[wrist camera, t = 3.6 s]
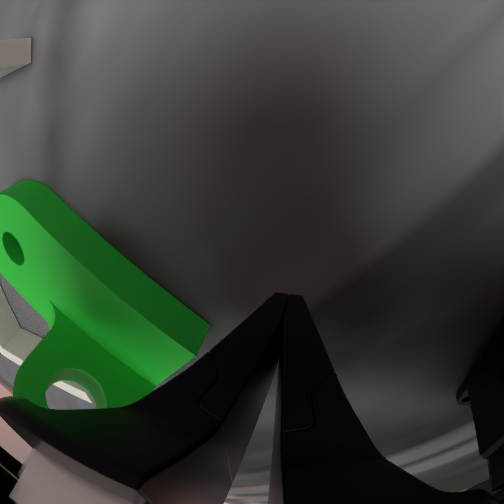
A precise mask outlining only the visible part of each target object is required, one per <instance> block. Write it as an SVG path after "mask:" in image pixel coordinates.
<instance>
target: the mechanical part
mask: <svg viewBox="0 0 504 504" xmlns="http://www.w3.org/2000/svg"><path fill="white" fill-rule="evenodd" d="M0 273H1V274H2V275H3V276H4V277H5V278H6V280H7V281H8V282H9V283H10V284H11V285H12V286H13V287H14V288H15V289H16V290H17V291H18V293H19V294H20V295H21V296H22V297H23V298H24V299H25V300H26V301H27V302H28V303H29V304H30V305H31V306H32V307H33V308H34V309H35V310H36V311H37V312H38V313H39V314H40V315H41V316H42V317H43V318H44V319H45V320H46V321H47V323H48V325H49V328H50V331H49V332H48V333H47V334H46V335H45V337H44V338H43V339H42V340H41V341H40V342H39V343H38V345H37V346H36V347H35V348H34V349H33V350H32V352H31V353H30V354H29V355H28V356H27V358H26V359H25V360H24V361H23V363H22V364H21V366H20V368H19V369H18V372H17V374H16V377H15V381H14V387H13V396H22V397H25V398H26V399H28V400H29V401H31V402H33V403H34V404H36V405H38V406H41V407H44V408H48V405H47V402H46V396H45V392H46V390H47V389H48V388H49V387H50V386H51V385H52V384H54V383H56V382H59V381H72V382H75V383H77V384H79V385H81V386H82V387H84V388H85V389H86V390H87V391H88V392H89V393H90V394H91V396H92V397H93V399H94V401H95V404H96V407H97V409H102V408H117V407H122V406H126V405H129V404H131V403H134V402H136V401H138V400H139V399H141V398H143V397H145V396H146V395H148V394H149V393H151V392H153V390H154V388H155V387H156V386H157V385H158V384H159V383H161V382H162V381H163V380H165V379H166V378H167V377H169V376H170V375H171V374H173V373H174V372H175V371H177V370H178V369H179V368H181V367H182V366H183V365H185V364H186V363H187V362H189V361H190V360H191V359H193V358H194V357H195V356H196V355H197V353H198V351H199V348H200V346H201V344H202V342H203V340H204V338H205V336H206V334H207V332H208V330H209V328H210V326H211V325H210V324H209V323H207V322H206V321H204V320H203V319H202V318H200V317H199V316H198V315H197V314H195V313H194V312H193V311H191V310H190V309H189V308H187V307H186V306H185V305H183V304H182V303H181V302H180V301H178V300H177V299H176V298H174V297H173V296H172V295H171V294H169V293H168V292H167V291H166V290H164V289H163V288H162V287H161V286H159V285H158V284H157V283H156V282H154V281H153V280H152V279H151V278H149V277H148V276H147V275H146V274H145V273H143V272H142V271H141V270H140V269H139V268H137V267H136V266H135V265H134V264H133V263H131V262H130V261H129V260H128V259H127V258H125V257H124V256H123V255H122V254H121V253H120V252H118V251H117V250H116V249H115V248H114V247H113V246H112V245H110V244H109V243H108V242H107V241H106V240H105V239H104V238H102V237H101V236H100V235H99V234H98V233H97V232H96V231H95V230H93V229H92V228H91V227H90V226H89V225H88V224H87V223H86V222H85V221H84V220H82V219H81V218H80V217H79V216H78V215H77V214H76V213H75V212H74V211H73V210H72V209H71V208H70V207H69V206H67V205H66V204H65V203H64V202H63V201H62V200H61V199H60V198H59V197H58V196H57V195H56V194H55V193H54V192H53V191H52V190H51V189H49V188H48V187H47V186H45V185H44V184H42V183H40V182H38V181H35V180H23V181H21V182H19V183H17V184H15V185H13V186H11V187H9V188H7V189H6V190H4V191H2V192H0ZM48 409H49V408H48Z"/></svg>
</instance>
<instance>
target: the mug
mask: <svg viewBox="0 0 504 504" xmlns="http://www.w3.org/2000/svg"><path fill="white" fill-rule="evenodd" d="M475 489H483V490H486V491H487V492H488V493H490V494H491V495H493V494H495V493H497V492H499V491H501V490H502V489H500V490H497V491H492V492H491V488H490V480H488V481H486V482H483V483H481V484H479V485H477V486H475V487H473V488H471V489H469V490H475ZM469 490H467V491H469Z"/></svg>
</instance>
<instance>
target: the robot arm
mask: <svg viewBox="0 0 504 504" xmlns="http://www.w3.org/2000/svg"><path fill="white" fill-rule="evenodd" d="M278 361H279V365H278V380H277V396H276V411H275V425H274V439H273V452H272V464H271V475H270V487H269V497H268V504H504V320H503V322H502V324H501V326H500V328H499V329H498V331H497V333H496V335H495V336H494V338H493V340H492V342H491V343H490V345H489V347H488V348H487V350H486V352H485V353H484V355H483V356H482V358H481V359H480V361H479V363H478V364H477V366H476V367H475V369H474V370H473V372H472V373H471V375H470V376H469V377H468V379H467V380H466V382H465V383H464V385H463V386H462V387H461V389H460V390H459V391H458V393H457V395H456V399H457V404H459V405H471V409H472V414H473V419H474V424H475V429H476V435H477V441H478V447H479V454H480V456H481V458H482V459H487V462H488V469H489V478H490V488H491V492H492V491H497V490H500V489H502V490H501V491H499V492H497V493H495V494H493V495H491V494H490V493H488V492H487V491H486V490H483V489H475V490H469V491H463V492H454V493H452V492H445V491H441V490H438V489H435V488H433V487H431V486H429V485H428V484H426V483H424V482H422V481H421V480H419V479H417V478H416V477H414V476H412V475H411V474H409V473H408V472H406V471H404V470H403V469H401V468H399V467H398V466H396V465H395V464H393V463H392V462H390V461H388V460H387V459H386V458H385V457H384V456H382V454H381V453H380V452H379V451H378V450H377V449H376V447H375V446H374V444H373V442H372V441H371V439H370V437H369V436H368V434H367V432H366V431H365V429H364V427H363V426H362V424H361V422H360V420H359V419H358V417H357V415H356V414H355V412H354V410H353V409H352V407H351V405H350V403H349V401H348V399H347V398H346V396H345V394H344V391H343V389H342V387H341V385H340V383H339V380H338V378H337V375H336V373H335V372H334V368H333V366H332V364H331V361H330V359H329V356H328V354H327V351H326V349H325V347H324V344H323V342H322V340H321V337H320V335H319V332H318V330H317V328H316V325H315V323H314V321H313V318H312V316H311V314H310V311H309V309H308V307H307V304H306V302H305V300H304V297H303V296H301V295H294V294H290V295H288V294H287V293H279V292H276V293H274V294H273V295H272V296H271V297H270V298H269V299H267V300H266V301H265V302H264V303H263V304H262V305H261V306H260V307H259V308H258V309H256V310H255V311H254V312H253V313H252V314H251V315H250V316H249V317H247V318H246V319H245V320H244V321H243V322H242V323H241V324H240V325H238V326H237V327H236V328H235V329H234V330H233V331H232V332H231V333H229V334H228V335H227V336H226V337H225V338H224V339H223V340H221V341H220V342H219V343H218V344H217V345H216V346H214V347H213V348H212V349H211V350H210V352H207V353H206V354H205V355H204V356H203V357H201V358H200V359H199V360H198V361H197V362H195V363H194V364H193V365H192V366H190V367H189V368H188V369H186V370H185V371H183V372H182V373H180V374H179V375H178V376H176V377H175V378H173V379H172V380H170V381H168V382H167V383H165V384H164V385H162V386H161V387H159V388H157V389H156V390H154V391H153V392H151V393H149V394H148V395H146V396H145V397H143V398H141V399H139V400H138V401H136V402H134V403H131V404H129V405H126V406H122V407H117V408H102V409H77V410H56V409H48V408H44V407H41V406H38V405H36V404H34V403H33V402H31V401H29V400H28V399H26V398H25V397H22V396H9V397H3V398H1V399H0V416H1V417H2V418H3V419H4V420H5V421H6V423H7V424H8V425H9V426H10V427H11V428H12V429H13V430H14V431H15V432H16V433H17V434H19V436H21V438H23V439H24V440H25V441H26V442H27V443H28V444H29V445H30V446H31V447H32V450H31V452H30V453H29V455H28V457H27V458H26V460H25V461H24V463H23V464H21V463H20V462H19V461H17V460H16V459H15V458H14V457H13V456H11V455H10V454H9V453H8V452H7V451H5V450H4V449H3V448H2V447H1V446H0V504H224V501H225V499H226V497H227V494H228V492H229V490H230V487H231V485H232V482H233V480H234V478H235V475H236V473H237V471H238V468H239V466H240V463H241V461H242V458H243V456H244V453H245V451H246V448H247V446H248V443H249V441H250V438H251V436H252V433H253V430H254V428H255V425H256V423H257V420H258V417H259V415H260V412H261V409H262V407H263V404H264V401H265V399H266V396H267V393H268V390H269V388H270V385H271V382H272V379H273V376H274V374H275V371H276V368H277V364H278Z"/></svg>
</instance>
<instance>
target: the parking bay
mask: <svg viewBox="0 0 504 504" xmlns="http://www.w3.org/2000/svg"><path fill="white" fill-rule="evenodd" d="M30 63H31V38H17V39H6V40H0V78H1V77H3V76H5V75H7V74H9V73H11V72H13V71H15V70H17V69H19V68H21V67H23V66H25V65H28V64H30ZM42 339H43V338H41V337H39V336H37V335H35V334H33V333H31V332H29V331H27V330H24V329H22V328H21V327H20V325H19V323H18V321H17V319H16V317H15V316H14V314H13V311H12V309H11V307H10V305H9V303H8V301H7V299H6V297H5V295H4V292H3V290H2V288H1V286H0V352H1V354H2V355H4V356H6V357H7V358H9V359H10V360H12V361H13V362H15V363H17V364H18V365H20V366H21V364H22V363H23V361H24V360H25V359H26V358H27V356H28V355H29V354H30V353H31V352H32V350H33V349H34V348H35V347H36V346H37V345H38V343H39V342H40V341H41V340H42ZM53 385H55V386H57V387H59V388H61V389H63V390H65V391H67V392H69V393H71V394H73V395H75V396H77V397H79V398H82V399H84V400H86V401H88V402H90V403H93V402H94V399H93V397H92V396H91V394H90V393H89V392H88V391H87V390H86V389H85V388H84V387H82V386H81V385H79V384H77V383H75V382H72V381H59V382H56V383H54V384H53Z"/></svg>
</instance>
